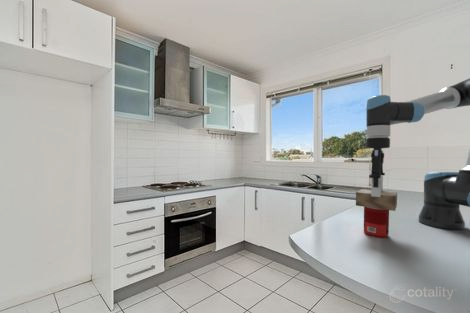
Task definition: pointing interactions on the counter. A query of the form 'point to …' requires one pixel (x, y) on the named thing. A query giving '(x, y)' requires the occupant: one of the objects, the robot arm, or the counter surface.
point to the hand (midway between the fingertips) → (377, 194)
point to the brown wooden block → (377, 200)
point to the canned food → (376, 222)
